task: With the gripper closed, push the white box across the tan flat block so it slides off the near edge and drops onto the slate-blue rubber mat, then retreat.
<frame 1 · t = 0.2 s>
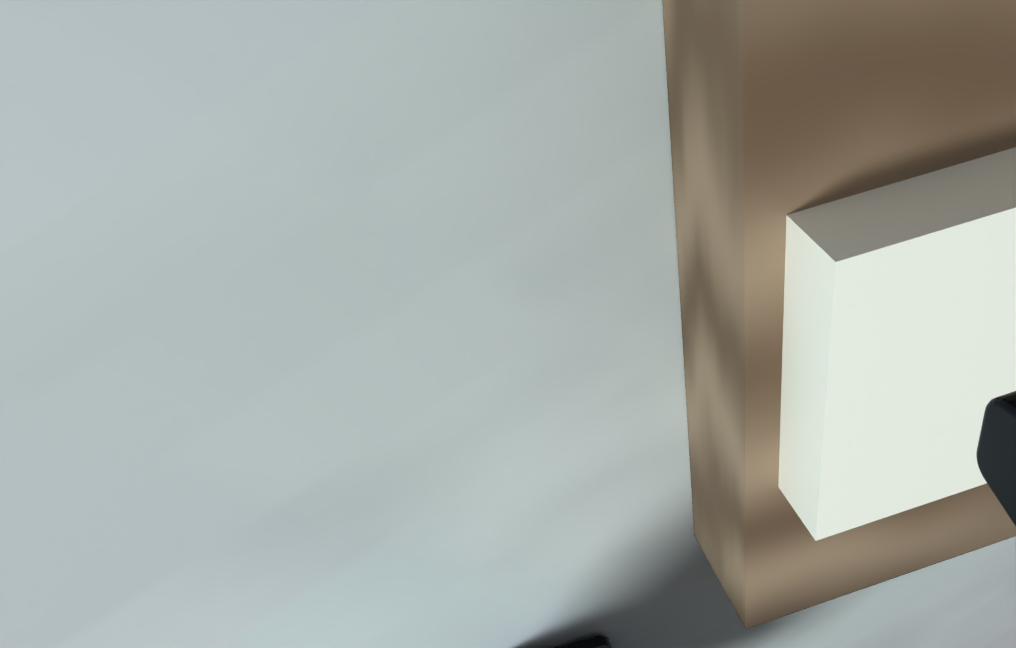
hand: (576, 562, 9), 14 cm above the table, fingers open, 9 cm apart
white box: (891, 333, 23), point 4 cm above the table, touching tan flat block
tan flat block: (904, 224, 26), on the table
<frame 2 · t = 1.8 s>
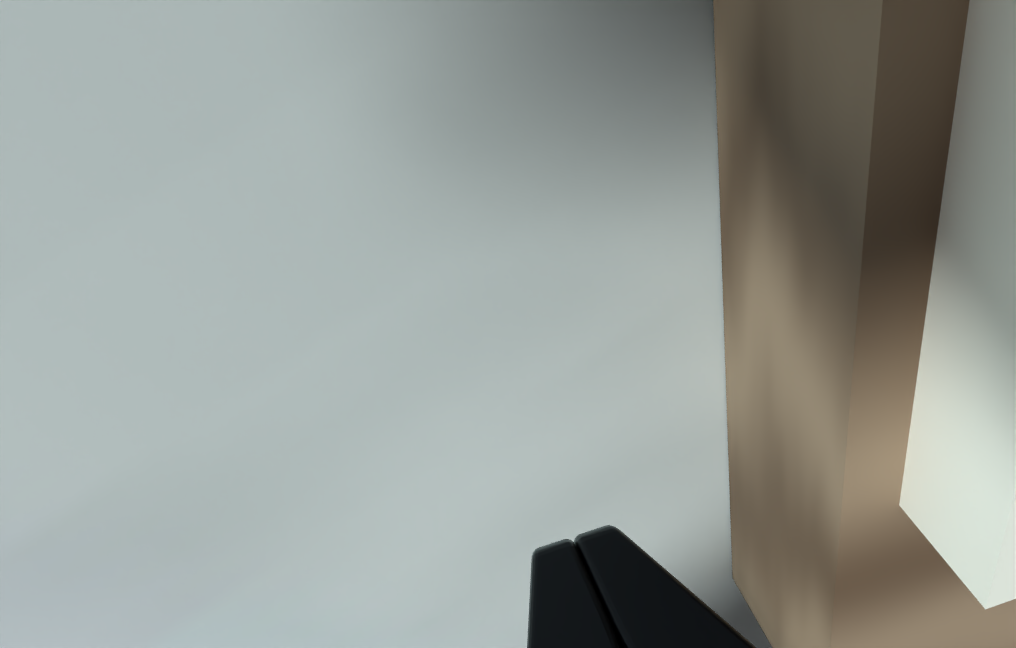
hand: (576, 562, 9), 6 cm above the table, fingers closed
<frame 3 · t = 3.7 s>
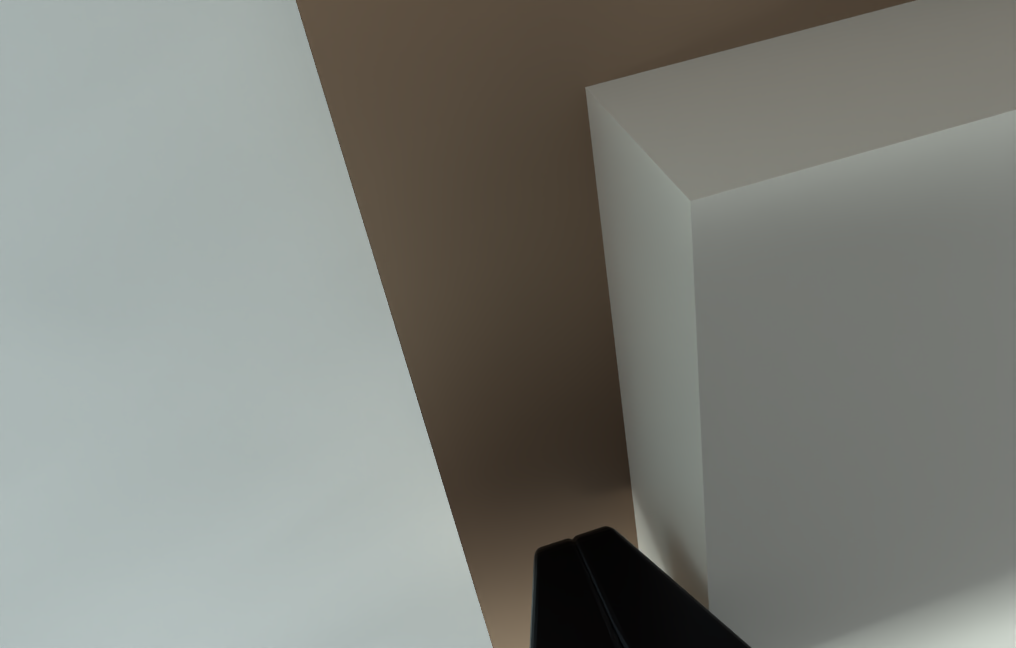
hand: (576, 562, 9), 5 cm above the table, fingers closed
white box: (883, 400, 10), point 4 cm above the table, touching tan flat block, gripper
tan flat block: (853, 192, 13), on the table
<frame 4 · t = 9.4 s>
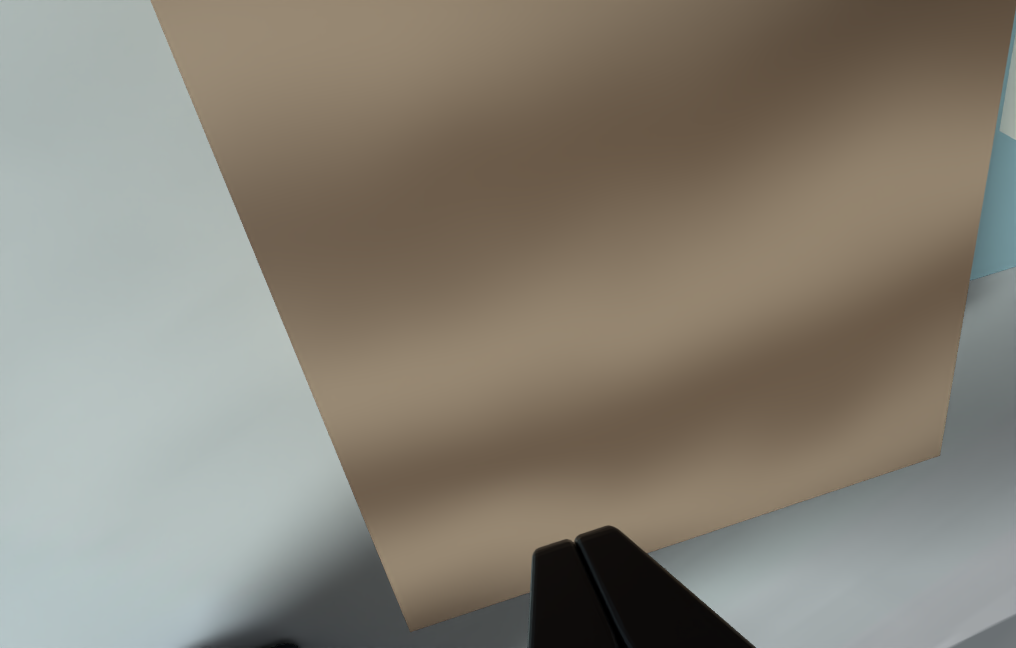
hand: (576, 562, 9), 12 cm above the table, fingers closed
tan flat block: (577, 62, 19), on the table
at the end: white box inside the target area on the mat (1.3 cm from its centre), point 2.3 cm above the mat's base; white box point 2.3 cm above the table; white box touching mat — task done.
